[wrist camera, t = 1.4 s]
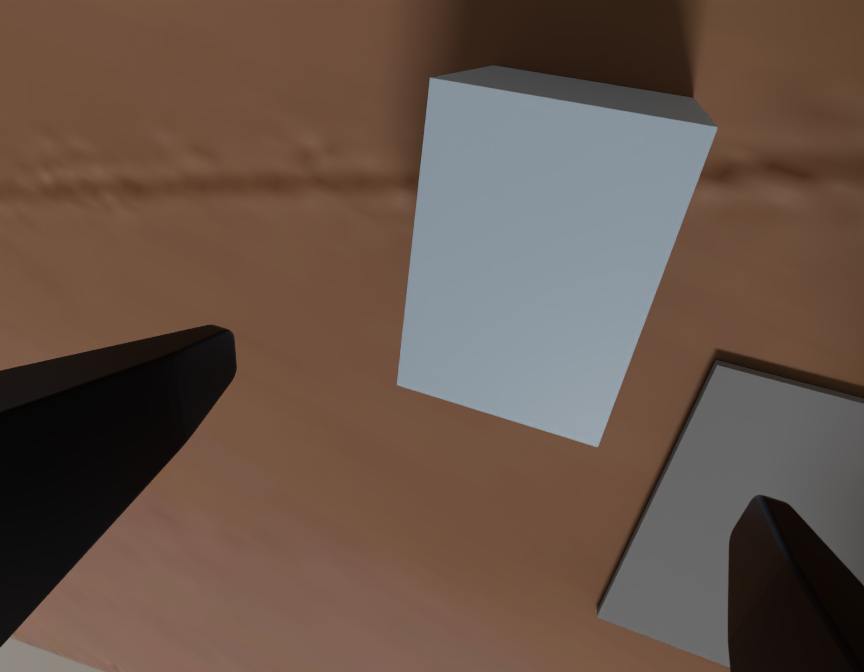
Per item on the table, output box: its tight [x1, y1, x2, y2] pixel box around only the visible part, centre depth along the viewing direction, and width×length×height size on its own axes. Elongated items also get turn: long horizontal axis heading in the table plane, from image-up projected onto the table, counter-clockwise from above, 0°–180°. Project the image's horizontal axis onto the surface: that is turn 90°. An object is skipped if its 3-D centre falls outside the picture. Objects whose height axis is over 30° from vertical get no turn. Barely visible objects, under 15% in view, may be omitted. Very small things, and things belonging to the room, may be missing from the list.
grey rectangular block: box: [397, 65, 718, 447], centre depth 17 cm, size 9×6×6 cm
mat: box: [597, 360, 864, 668], centre depth 22 cm, size 16×16×1 cm
